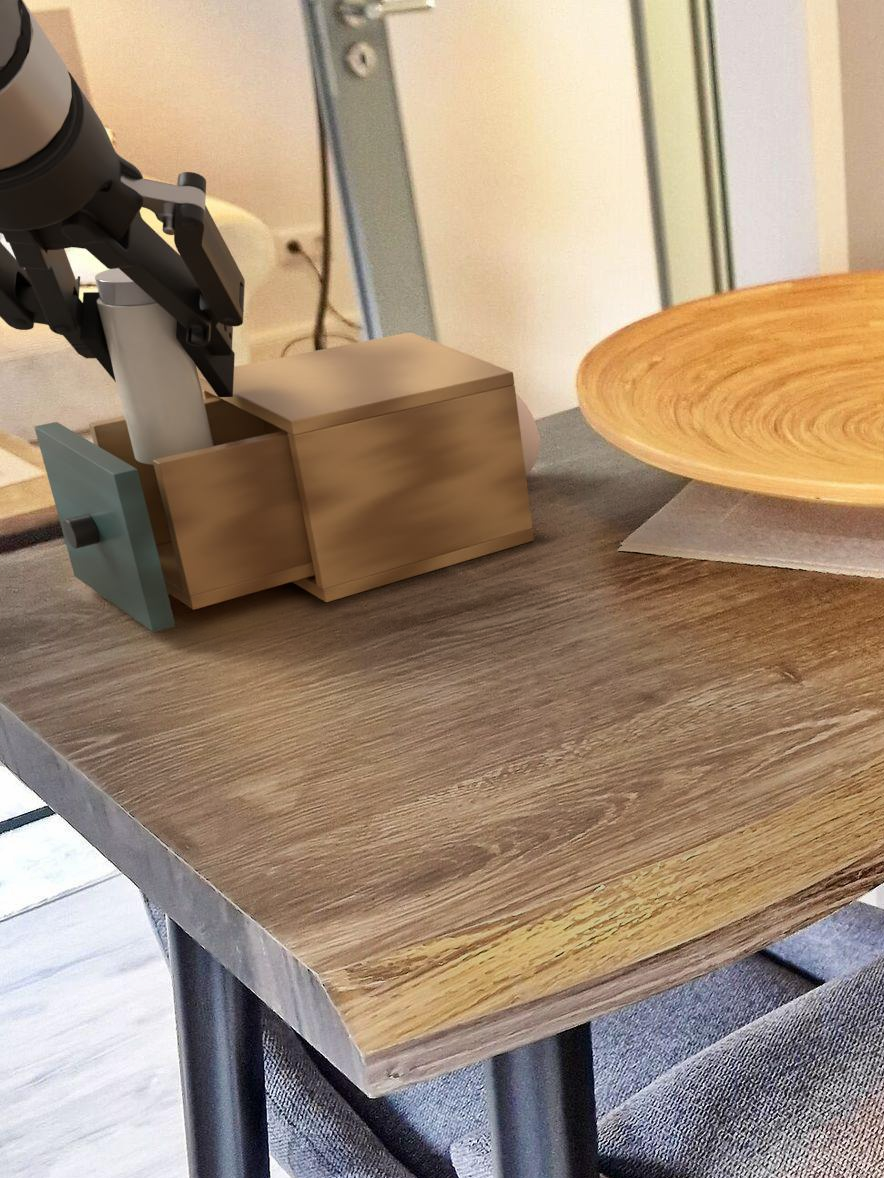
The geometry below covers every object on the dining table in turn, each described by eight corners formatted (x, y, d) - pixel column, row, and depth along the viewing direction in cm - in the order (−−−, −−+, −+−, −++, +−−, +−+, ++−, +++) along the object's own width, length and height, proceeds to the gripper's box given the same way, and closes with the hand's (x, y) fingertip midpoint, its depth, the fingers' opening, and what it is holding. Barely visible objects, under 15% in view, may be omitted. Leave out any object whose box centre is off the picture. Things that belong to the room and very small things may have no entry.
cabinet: (326, 602, 96) (290, 421, 91) (232, 546, 103) (194, 374, 98) (534, 540, 105) (513, 371, 100) (435, 492, 112) (410, 331, 107)
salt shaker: (122, 453, 93) (77, 272, 88) (195, 436, 95) (155, 260, 91) (153, 471, 90) (109, 287, 86) (227, 454, 93) (188, 274, 88)
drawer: (130, 639, 89) (89, 480, 85) (52, 582, 96) (10, 431, 91) (372, 569, 98) (346, 421, 94) (286, 521, 104) (258, 380, 100)
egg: (559, 481, 114) (548, 384, 111) (502, 502, 111) (489, 402, 107) (510, 466, 116) (498, 370, 113) (453, 486, 113) (438, 387, 110)
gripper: (-245, 184, 70) (13, 441, 92) (191, 183, 72) (340, 434, 95) (-225, 29, 72) (23, 317, 94) (199, 33, 74) (343, 313, 97)
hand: (181, 375), depth 95 cm, fingers closed on salt shaker, 4 cm apart
